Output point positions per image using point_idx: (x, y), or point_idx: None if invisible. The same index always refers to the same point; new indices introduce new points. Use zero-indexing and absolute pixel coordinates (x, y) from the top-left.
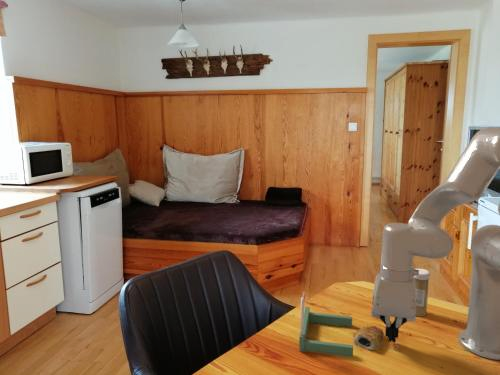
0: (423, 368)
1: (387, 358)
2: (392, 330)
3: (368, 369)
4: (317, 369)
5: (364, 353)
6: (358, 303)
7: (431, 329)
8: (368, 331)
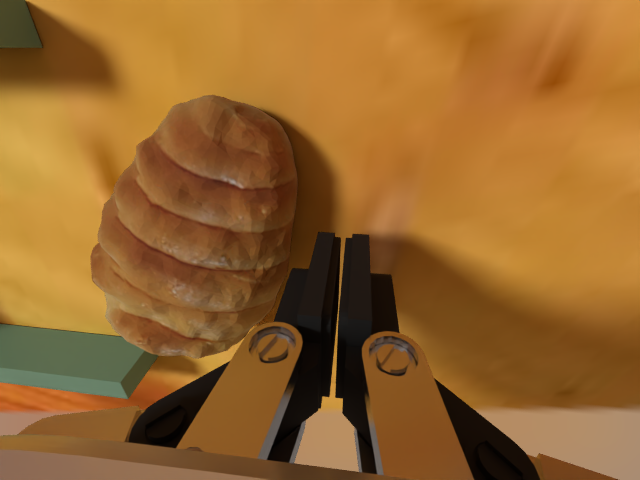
0: (464, 401)
1: None
2: (330, 383)
3: None
4: (70, 408)
5: None
6: None
7: None
8: (158, 305)
